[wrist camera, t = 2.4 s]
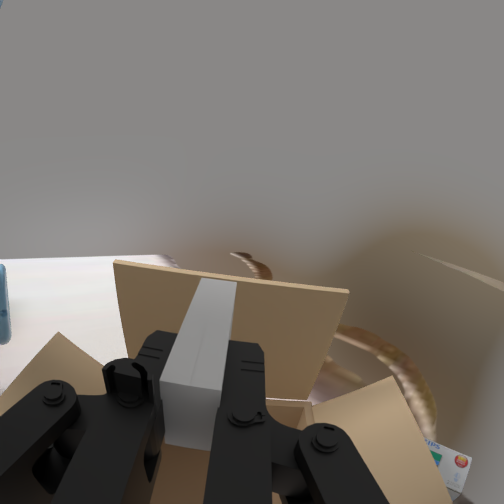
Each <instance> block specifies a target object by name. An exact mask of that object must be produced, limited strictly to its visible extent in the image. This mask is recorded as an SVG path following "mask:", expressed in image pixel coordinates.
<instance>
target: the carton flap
mask: <svg viewBox="0 0 504 504" xmlns="http://www.w3.org/2000/svg"><path fill="white" fill-rule="evenodd" d="M113 268H114V276H115V284H116V291H117V298H118V304H119V311H120V317H121V322H122V328H123V333H124V338H125V343H126V348H127V353H128V358H131V359H135V358H136V356H137V355H138V352H139V350H140V349H141V348H142V345H143V343H144V341H145V339H146V338H147V336H149V335H150V334H152V333H153V332H155V331H156V330H160V331H166V332H172V333H179V330H180V328H181V325H182V323H183V321H184V318H185V316H186V313H187V311H188V309H189V306H190V304H191V302H192V299H193V297H194V294H195V292H196V290H197V287H198V285H199V283H200V280H201V278H209V279H216V280H224V281H232V282H237V287H236V295H235V304H234V312H233V321H232V330H231V338H230V340H234V341H242V342H251V343H258V344H259V346H260V347H261V349H262V350H263V352H264V359H265V364H264V365H265V393H266V398H280V399H297V400H307V399H308V397H309V394H310V392H311V390H312V388H313V385H314V383H315V381H316V378H317V376H318V374H319V372H320V369H321V367H322V364H323V362H324V360H325V357H326V355H327V352H328V350H329V347H330V345H331V342H332V339H333V337H334V335H335V332H336V329H337V327H338V324H339V321H340V319H341V316H342V313H343V311H344V308H345V305H346V302H347V299H348V297H349V290H348V289H339V288H330V287H320V286H311V285H303V284H294V283H286V282H277V281H269V280H261V279H252V278H244V277H237V276H229V275H221V274H214V273H206V272H199V271H191V270H184V269H177V268H170V267H163V266H156V265H149V264H142V263H136V262H129V261H122V260H116V259H115V261H114V262H113Z"/></svg>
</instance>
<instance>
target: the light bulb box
mask: <svg viewBox="0 0 504 504" xmlns="http://www.w3.org/2000/svg"><path fill="white" fill-rule="evenodd" d="M424 439H425V441H426V443H427V445H428V448H429V450H430V452H431V454H432V456H433V458H434V461H435V463H436V465H437V467H438V469H439V472H440V474H441V476H442V478H443V481H444V483H445V485H446V488H447V490H448V492H449V495H450V497H451V500H452V501H454V500H455V499H456V498H457V497H458V496H459V495H460V494H461V493H462V490H463V487H464V484H465V481H466V478H467V475H468V472H469V469H470V465H471V461H472V457H469V456H467V455H464V454H461V453H459V452H457V451H454V450H452V449H449V448H447V447H445V446H443V445H440V444H438V443H436V442H434V441H431V440H429V439H427V438H425V437H424Z"/></svg>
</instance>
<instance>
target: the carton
mask: <svg viewBox="0 0 504 504" xmlns="http://www.w3.org/2000/svg"><path fill="white" fill-rule="evenodd" d="M103 367H104V366H103V365H102V364H100V363H99V362H98V361H96V360H95V359H93V358H92V357H91V356H89V355H88V354H87V353H85V352H84V351H83V350H81V349H80V348H79V347H77V346H76V345H75V344H73V343H72V342H71V341H70V340H68V339H67V338H66V337H65V336H63V335H62V334H61V333H60V332H57V333H56V334H55V336H54V337H53V338H52V339H51V340H50V341H49V342H48V343H47V344H46V345H45V346H44V347H43V348H42V349H41V351H40V352H39V353H38V354H37V355H36V356H35V357H34V358H33V359H32V360H31V362H30V363H29V364H28V365H27V366H26V367H25V368H24V369H23V371H22V372H21V373H20V374H19V375H18V376H17V377H16V379H15V380H14V381H13V382H12V383H11V384H10V386H9V387H8V388H7V389H6V390H5V392H4V393H3V394H2V395H1V396H0V416H1V415H2V414H4V413H5V412H6V411H7V410H8V409H10V408H11V407H12V406H13V405H14V404H16V403H17V402H18V401H19V400H21V399H22V398H23V397H24V396H25V395H27V394H28V393H29V392H30V391H32V390H33V389H34V388H35V387H36V386H38V385H39V384H41V383H43V382H45V381H49V380H62V381H65V382H67V383H69V384H70V385H71V386H73V387H74V389H75V391H76V394H77V395H103V394H106V388H105V383H104V378H103V373H102V368H103ZM266 407H267V410H268V412H269V414H270V415H271V416H272V417H273V418H274V419H275V420H276V421H278V422H279V423H281V424H283V425H286V426H288V427H292V428H295V429H299V430H303V429H305V428H306V427H307V426H309V425H312V424H315V423H328V424H333V425H336V426H338V427H339V428H341V429H343V430H344V431H345V432H346V433H347V434H348V436H349V437H350V438H351V440H352V442H353V443H354V445H355V447H356V448H357V450H358V452H359V453H360V455H361V457H362V458H363V460H364V462H365V463H366V465H367V467H368V468H369V470H370V472H371V473H372V475H373V477H374V478H375V480H376V482H377V483H378V485H379V487H380V488H381V490H382V492H383V493H384V495H385V497H386V498H387V500H388V502H389V503H390V504H453V502H452V500H451V497H450V495H449V492H448V490H447V488H446V485H445V483H444V481H443V478H442V476H441V474H440V472H439V469H438V467H437V465H436V463H435V461H434V458H433V456H432V454H431V452H430V450H429V448H428V445H427V443H426V441H425V439H424V437H423V435H422V433H421V431H420V429H419V427H418V425H417V423H416V421H415V419H414V417H413V415H412V413H411V411H410V409H409V407H408V405H407V403H406V401H405V399H404V397H403V395H402V393H401V391H400V389H399V387H398V385H397V383H396V381H395V379H394V378H393V376H390V377H388V378H386V379H383V380H381V381H378V382H376V383H373V384H371V385H368V386H366V387H363V388H361V389H358V390H356V391H353V392H351V393H348V394H345V395H342V396H340V397H337V398H334V399H331V400H328V401H325V402H322V403H319V404H316V405H313V406H312V403H311V402H304V401H284V400H270V399H266ZM161 451H162V459H161V462H160V466H159V470H158V473H157V477H156V481H155V485H154V489H153V493H152V496H151V500H150V504H203V499H204V492H205V485H206V478H207V471H208V465H209V458H210V451H206V450H199V449H193V448H187V447H181V446H176V445H171V444H166V443H165V437H164V438H163V441H162V445H161ZM272 504H282V502H281V500H280V497H279V494H277V493H274V492H272Z"/></svg>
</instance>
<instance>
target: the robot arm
mask: <svg viewBox="0 0 504 504" xmlns="http://www.w3.org/2000/svg"><path fill="white" fill-rule="evenodd" d="M2 2H3V0H0V7H1V5H2ZM236 287H237V282H232V281H224V280H216V279H209V278H201V280H200V283H199V285H198V287H197V290H196V292H195V294H194V297H193V299H192V302H191V304H190V306H189V309H188V311H187V313H186V316H185V318H184V321H183V323H182V325H181V328H180V330H179V333H172V332H166V331H160V330H156V331H155V332H153V333H152V334H150V335H149V336H147V338H146V339H145V341H144V343H143V345H142V348H141V349H140V350H139V352H138V355H137V356H136V358H135V359H131V358H122V359H115V360H113V361H111V362H109V363H107V364H106V365H105V366H104V367H103V368H102V373H103V378H104V383H105V388H106V394H103V395H77V394H76V391H75V389H74V387H73V386H71V385H70V384H69V383H67V382H65V381H62V380H49V381H45V382H43V383H41V384H39V385H38V386H36V387H35V388H34V389H33V390H32V391H30V392H29V393H28V394H27V395H25V396H24V397H23V398H22V399H21V400H19V401H18V402H17V403H16V404H14V405H13V406H12V407H11V408H10V409H8V410H7V411H6V412H5V413H4V414H2V415H1V416H0V504H150V500H151V496H152V493H153V489H154V485H155V481H156V477H157V473H158V470H159V466H160V462H161V459H162V451H161V445H162V441H163V438H164V437H165V443H166V444H171V445H176V446H181V447H187V448H193V449H199V450H206V451H210V458H209V465H208V471H207V478H206V485H205V492H204V499H203V504H272V492H274V493H277V494H279V497H280V500H281V502H282V504H390V503H389V502H388V500H387V498H386V497H385V495H384V493H383V492H382V490H381V488H380V487H379V485H378V483H377V482H376V480H375V478H374V477H373V475H372V473H371V472H370V470H369V468H368V467H367V465H366V463H365V462H364V460H363V458H362V457H361V455H360V453H359V452H358V450H357V448H356V447H355V445H354V443H353V442H352V440H351V438H350V437H349V436H348V434H347V433H346V432H345V431H344V430H343V429H341V428H339V427H338V426H336V425H333V424H328V423H315V424H312V425H309V426H307V427H306V428H305V429H303V430H299V429H295V428H292V427H288V426H286V425H283V424H281V423H279V422H278V421H276V420H275V419H274V418H273V417H272V416H271V415H270V414H269V412H268V410H267V407H266V393H265V365H264V364H265V359H264V352H263V350H262V349H261V347H260V346H259V344H258V343H251V342H242V341H234V340H230V338H231V330H232V321H233V312H234V304H235V295H236ZM10 339H11V322H10V312H9V301H8V289H7V277H6V269H5V266H4V265H3V264H0V345H3V344H7V343H8V342H9V341H10Z"/></svg>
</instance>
